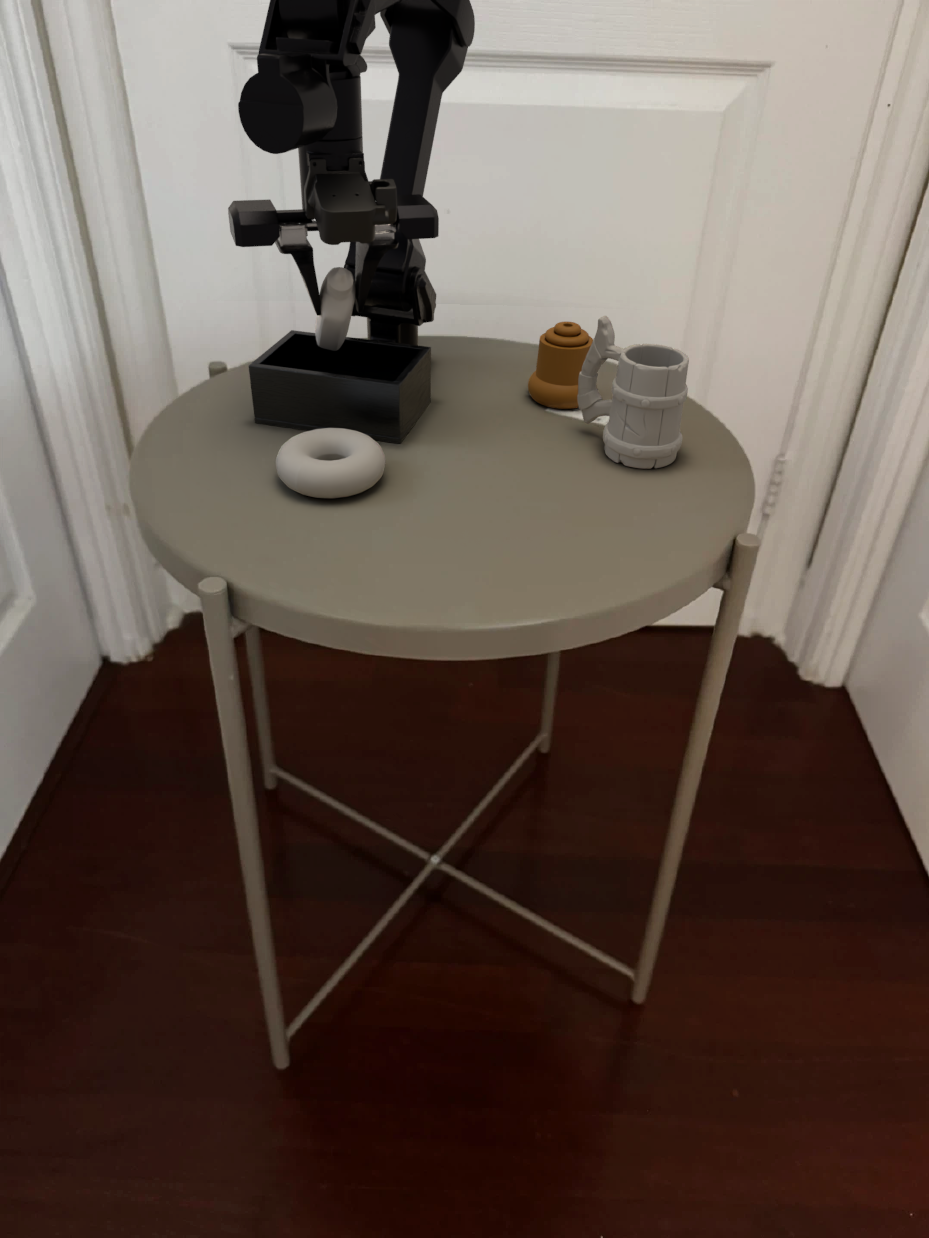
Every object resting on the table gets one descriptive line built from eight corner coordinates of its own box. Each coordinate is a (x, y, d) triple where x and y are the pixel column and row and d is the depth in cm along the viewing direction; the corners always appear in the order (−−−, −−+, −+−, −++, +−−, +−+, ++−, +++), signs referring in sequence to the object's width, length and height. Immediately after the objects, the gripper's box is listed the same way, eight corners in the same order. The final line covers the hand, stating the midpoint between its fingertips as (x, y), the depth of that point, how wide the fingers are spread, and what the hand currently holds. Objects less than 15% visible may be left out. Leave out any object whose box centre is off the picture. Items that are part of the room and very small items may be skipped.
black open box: (296, 384, 104) (291, 330, 100) (431, 402, 101) (431, 347, 97) (254, 423, 96) (248, 365, 92) (400, 444, 93) (399, 385, 89)
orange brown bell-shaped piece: (609, 401, 102) (557, 417, 99) (564, 379, 107) (513, 393, 103) (618, 329, 97) (564, 342, 94) (571, 309, 102) (517, 321, 99)
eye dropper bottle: (298, 331, 97) (303, 277, 86) (332, 294, 99) (342, 235, 87) (331, 358, 98) (341, 308, 86) (364, 321, 99) (379, 267, 87)
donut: (398, 462, 90) (298, 448, 91) (398, 428, 88) (296, 415, 89) (368, 513, 82) (260, 497, 83) (367, 478, 80) (256, 462, 81)
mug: (652, 478, 88) (672, 355, 81) (552, 440, 94) (562, 321, 87) (694, 452, 93) (716, 333, 86) (596, 417, 99) (609, 303, 92)
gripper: (230, 155, 74) (251, 348, 83) (457, 150, 79) (453, 333, 88) (218, 131, 83) (238, 309, 92) (423, 128, 87) (422, 297, 96)
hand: (338, 313), depth 92 cm, fingers closed on eye dropper bottle, 4 cm apart
